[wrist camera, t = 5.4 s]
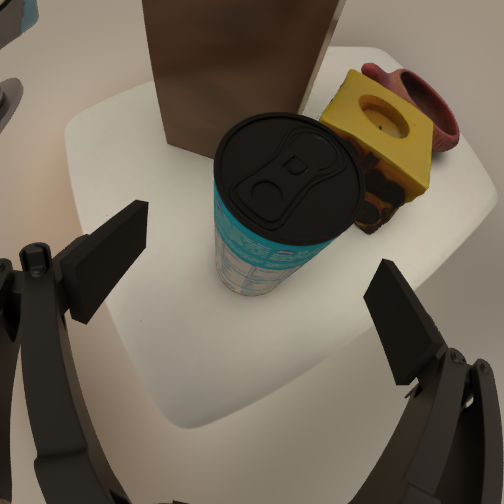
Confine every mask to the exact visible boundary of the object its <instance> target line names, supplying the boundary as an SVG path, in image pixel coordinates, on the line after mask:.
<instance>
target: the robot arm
mask: <svg viewBox="0 0 504 504" xmlns="http://www.w3.org/2000/svg"><path fill="white" fill-rule="evenodd" d="M38 17H39V14H38V8H37V1H36V0H0V49H2V48H3V47H4V46H6V45H7V44H8V43H10V42H11V41H13V40H14V39H16V38H17V37H19V36H21V34H22V33H23V32H25V31H26V30H28V29H29V28H31V27H32V26H33V25H34V24H35V23H36V22H37V20H38ZM4 98H5V93H4V91H3V90H2V88H1V87H0V107H1V105H2V103H3V101H4ZM148 204H149V202H145V201H140V200H135V201H133V202H132V203H131V204H129V205H128V206H127V207H125V208H124V209H123V210H121V211H120V212H119V213H117V214H116V215H115V216H113V217H112V218H111V219H109V220H108V221H107V222H105V223H104V224H103V225H102V226H100V227H99V228H98V229H97V230H95V231H94V232H93V233H92V234H90V235H88V234H85V235H83V236H80V237H78V238H76V239H75V240H74V241H73V242H72V243H71V244H70V245H68V246H67V247H66V248H65V249H63V250H62V251H61V252H60V253H58V254H57V255H56V256H55V257H54V258H53V259H52V258H51V251H50V247H49V246H48V245H47V244H46V243H41V242H40V243H32V244H29V245H27V246H25V247H24V248H23V249H22V250H21V251H20V253H19V257H20V261H21V265H22V269H23V271H17V270H13V267H12V263H11V261H10V260H8V259H5V258H2V259H0V504H11V501H12V478H11V461H10V416H11V402H12V391H13V383H14V377H15V370H16V364H17V358H18V353H19V348H20V344H21V361H22V373H23V383H24V390H25V398H26V404H27V409H28V415H29V420H30V425H31V429H32V434H33V438H34V442H35V446H36V449H37V458H36V459H35V460H34V469H35V473H36V477H37V480H38V483H39V485H40V488H41V491H42V493H43V496H44V498H45V501H46V503H47V504H132V503H131V501H130V499H129V498H128V496H127V494H126V493H125V491H124V490H123V488H122V486H121V484H120V483H119V481H118V479H117V478H116V476H115V475H114V473H113V471H112V469H111V467H110V465H109V463H108V461H107V459H106V457H105V454H104V452H103V450H102V447H101V445H100V443H99V440H98V438H97V435H96V433H95V430H94V428H93V425H92V422H91V419H90V416H89V413H88V410H87V407H86V404H85V401H84V398H83V395H82V391H81V388H80V384H79V381H78V377H77V373H76V369H75V365H74V361H73V357H72V351H71V347H70V342H69V337H68V331H67V325H66V320H65V316H64V314H65V312H66V311H67V310H68V309H69V310H70V314H71V317H72V319H74V320H76V321H79V322H81V323H84V324H86V325H87V323H88V322H89V320H90V319H91V318H92V316H93V315H94V313H95V312H96V311H97V309H98V308H99V306H100V305H101V304H102V302H103V301H104V300H105V298H106V297H107V296H108V294H109V293H110V292H111V290H112V289H113V288H114V287H115V285H116V284H117V283H118V281H119V280H120V279H121V278H122V276H123V275H124V274H125V272H126V271H127V270H128V269H129V267H130V266H131V265H132V264H133V262H134V261H135V260H136V259H137V258H138V256H139V255H140V254H141V253H142V252H143V250H144V249H145V248H146V234H147V217H148ZM363 298H364V300H365V302H366V305H367V307H368V310H369V312H370V314H371V317H372V319H373V322H374V324H375V327H376V330H377V332H378V334H379V337H380V340H381V343H382V345H383V348H384V351H385V354H386V356H387V359H388V362H389V365H390V368H391V371H392V374H393V377H394V379H395V382H396V385H409V384H410V383H411V382H412V381H413V380H414V379H415V378H416V377H417V379H418V381H419V383H418V384H417V385H416V386H415V387H414V388H413V389H412V390H411V391H410V392H409V393H408V394H407V395H406V396H405V398H407V397H408V396H410V399H409V401H408V403H407V406H406V408H405V410H404V412H403V415H402V417H401V419H400V421H399V423H398V425H397V427H396V429H395V431H394V433H393V435H392V437H391V439H390V440H389V443H388V444H387V446H386V448H385V450H384V451H383V453H382V455H381V457H380V458H379V460H378V462H377V464H376V465H375V467H374V468H373V470H372V471H371V473H370V475H369V476H368V478H367V479H366V481H365V482H364V484H363V485H362V487H361V488H360V490H359V491H358V492H357V494H356V495H355V496H354V498H353V499H352V500H351V501H350V502H349V503H348V504H501V499H502V487H503V439H502V438H503V437H502V425H501V416H500V409H499V402H498V396H497V390H496V385H495V379H494V375H493V371H492V368H491V367H490V364H489V363H488V362H487V361H485V360H483V359H477V361H476V362H475V363H474V364H473V365H469V364H466V360H465V358H464V356H463V355H462V354H461V353H460V352H459V351H458V350H456V349H454V348H448V346H447V344H446V342H445V341H444V339H443V337H442V335H441V333H440V332H439V331H438V328H437V326H436V325H435V323H434V321H433V320H432V318H431V316H430V315H429V314H428V313H427V312H426V311H425V309H424V307H423V306H422V304H421V303H420V301H419V299H418V298H417V296H416V295H415V293H414V292H413V290H412V288H411V287H410V285H409V284H408V282H407V281H406V279H405V278H404V276H403V275H402V274H401V272H400V271H399V269H398V268H397V266H396V265H395V263H394V262H393V261H390V260H387V259H383V258H382V261H381V263H380V265H379V267H378V269H377V271H376V273H375V275H374V277H373V279H372V281H371V283H370V285H369V287H368V289H367V291H366V293H365V294H364V296H363ZM472 397H473V403H472V404H471V405H470V406H469V407H466V403H467V402H468V401H469V400H470V399H471V398H472ZM160 504H167V503H160ZM172 504H187V503H182V502H178V501H174V500H173V503H172Z"/></svg>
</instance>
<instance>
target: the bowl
mask: <svg viewBox="0 0 504 504" xmlns="http://www.w3.org/2000/svg"><path fill="white" fill-rule="evenodd" d="M361 71H362V74H363V75H365V76H367V77H368V78H370V79H372V80H374V81H375V82H377V83H379V84H380V85H382V86H383V87H385V88H386V89H388V90H390V91H391V92H393V93H395V94H396V95H398V96H399V97H400V98H402V99H403V100H405V101H407V102H408V103H410V104H411V105H412V106H414V107H415V108H416V109H418V110H419V111H420V112H422V113H423V114H424V115H426V116H427V117H428V118H429V119H431V120H432V121H433V136H432V151H434V152H444V151H448V150H450V149H452V148H453V147H455V146H456V145H457V144H458V142H459V128H458V125H457V122H456V120H455V117H454V115H453V113H452V111H451V110H450V108H449V107H448V105H447V104H446V102H445V101H444V100H443V99H442V98H441V97H440V95H439V94H438V93H437V92H436V91H435V90H434V89H433V88H432V87H431V86H430V85H429V84H427V83H426V82H425V81H424V80H423V79H422V78H420V77H419V76H418V75H416V74H415V73H413V72H411V71H409V70H406V69H397V70H396V71H394V72H392V73H386V72H384V71H383V70H382V69H381V68H380V67H379V66H377V65H376V64H374V63H366V64H364V65H363V66H362V68H361Z"/></svg>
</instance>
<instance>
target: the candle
mask: <svg viewBox="0 0 504 504" xmlns="http://www.w3.org/2000/svg"><path fill="white" fill-rule="evenodd" d="M319 122H320V123H322V124H324V125H325V126H327V127H329V128H330V129H332V130H333V131H334V132H336V133H337V134H338V135H339V136H340V137H341V138H342V139H343V140H344V141H345V142H346V143H347V144H348V145H349V146H350V148H351V149H352V150H353V152H354V153H355V155H356V157H357V158H358V161H359V163H360V165H361V167H362V170H363V174H364V178H365V186H366V193H365V200H364V204H363V207H362V210H361V212H360V214H359V216H358V217H357V219H356V220H355V221H354V223H356V224H357V225H358V226H359V227H360V228H361V229H363V230H364V231H365V232H366V233H369V234H372V233H374V232H375V231H376V230H378V228H380V227H381V225H382V224H383V225H384V224H385V223H387V222H388V221H389V220H390V219H391V217H392V216H393V215H394V214H395V212H396V211H397V210H398V209H399V207H401V206H403V205H404V204H405V203H408V202H411V201H413V200H414V199H415V198H416V197H418V196H420V195H422V194H424V193H425V191H426V190H427V189H428V188H429V182H430V169H431V152H432V136H433V121H432V120H431V119H429V118H428V117H427V116H426V115H424V114H423V113H422V112H420V111H419V110H418V109H416V108H415V107H414V106H412V105H411V104H410V103H408V102H407V101H405V100H403V99H402V98H400V97H399V96H398V95H396V94H395V93H393V92H391V91H390V90H388V89H386V88H385V87H383V86H382V85H380V84H379V83H377V82H375V81H374V80H372V79H370V78H368V77H367V76H365V75H363V74H361V73H360V72H358V71H356V70H353V69H350V70H349V72H348V74H347V76H346V78H345V80H344V83H343V84H342V85H341V86H340V89H339V90H338V92H337V93H336V95H335V97H334V99H333V98H332V100H331V101H330V104H329V105H328V106H327V107H326V109H325V110H324V112H323V113H322V115H321V117H320V120H319Z"/></svg>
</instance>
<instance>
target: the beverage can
mask: <svg viewBox="0 0 504 504" xmlns="http://www.w3.org/2000/svg"><path fill="white" fill-rule="evenodd" d="M365 193H366V186H365V178H364V174H363V170H362V167H361V165H360V163H359V161H358V158H357V157H356V155H355V153H354V152H353V150H352V149H351V148H350V146H349V145H348V144H347V143H346V142H345V141H344V140H343V139H342V138H341V137H340V136H339V135H338V134H337V133H336V132H334V131H333V130H332V129H330V128H329V127H327V126H325V125H324V124H322V123H320V122H318V121H316V120H314V119H312V118H309V117H306V116H303V115H299V114H294V113H288V112H267V113H261V114H257V115H254V116H251V117H248V118H246V119H244V120H242V121H240V122H239V123H237V124H236V125H234V126H233V127H232V128H231V129H230V130H229V131H228V132H227V133H226V134H225V135H224V136H223V138H222V139H221V141H220V143H219V145H218V147H217V150H216V153H215V157H214V222H215V245H216V265H217V270H218V273H219V275H220V277H221V279H222V280H223V282H224V283H225V284H226V285H227V286H228V287H229V288H231V289H232V290H233V291H235V292H237V293H239V294H243V295H249V296H256V295H261V294H264V293H266V292H269V291H270V290H272V289H273V288H275V287H276V286H277V285H278V284H279V283H281V282H282V281H283V280H285V279H286V278H287V277H289V276H290V275H291V274H292V273H294V272H295V271H296V270H298V269H299V268H300V267H302V266H303V265H304V264H305V263H307V262H308V261H309V260H310V259H312V258H313V257H314V256H315V255H317V254H318V253H319V252H320V251H321V250H323V249H324V248H325V247H326V246H327V245H329V244H330V243H331V242H332V241H333V240H335V239H336V238H337V237H338V236H339V235H340V234H342V233H343V232H344V231H345V230H347V229H348V228H349V227H350V226H351V225H352V224H353V223H354V221H355V220H356V219H357V217H358V216H359V214H360V212H361V210H362V207H363V204H364V200H365Z"/></svg>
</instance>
